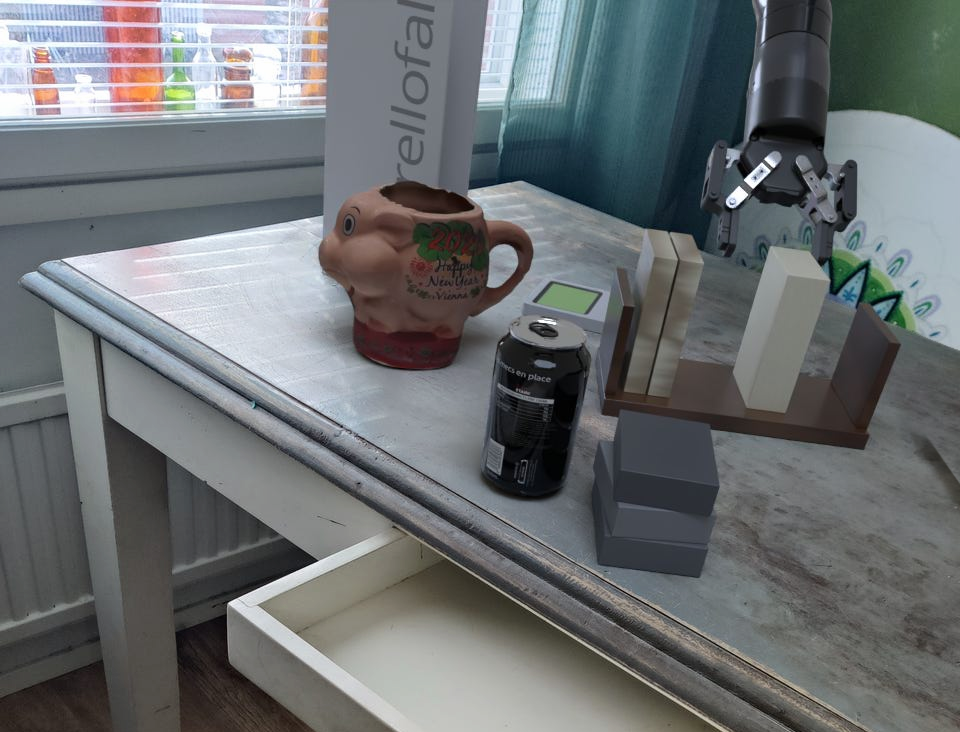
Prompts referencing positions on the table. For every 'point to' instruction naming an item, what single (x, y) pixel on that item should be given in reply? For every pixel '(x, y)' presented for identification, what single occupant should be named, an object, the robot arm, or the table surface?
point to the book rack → (712, 387)
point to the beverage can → (535, 404)
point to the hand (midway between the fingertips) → (773, 260)
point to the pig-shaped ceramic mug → (417, 269)
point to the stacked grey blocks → (655, 494)
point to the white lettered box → (400, 95)
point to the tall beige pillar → (779, 328)
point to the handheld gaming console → (569, 303)
